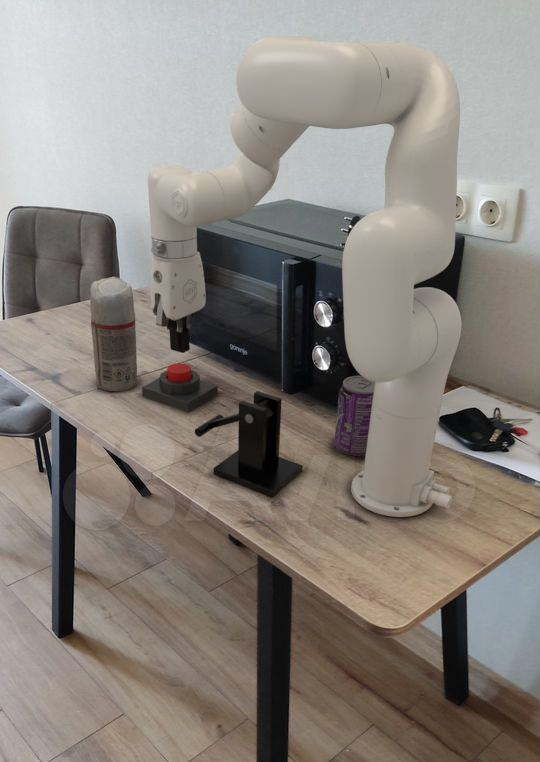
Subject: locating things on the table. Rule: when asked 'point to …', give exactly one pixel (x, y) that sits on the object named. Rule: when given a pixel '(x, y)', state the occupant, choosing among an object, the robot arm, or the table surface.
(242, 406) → the bracket
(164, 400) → the button block
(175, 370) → the button
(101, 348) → the spray can
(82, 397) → the table surface
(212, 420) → the lever
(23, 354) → the table surface
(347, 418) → the beverage can
